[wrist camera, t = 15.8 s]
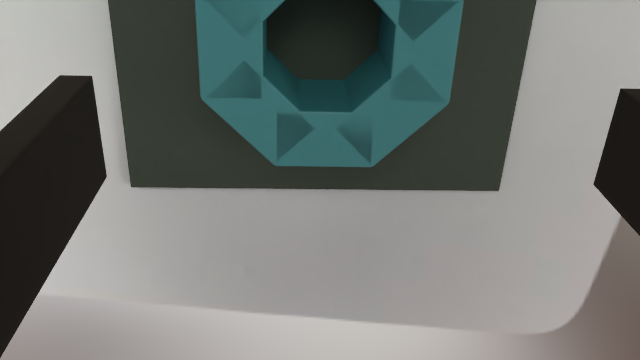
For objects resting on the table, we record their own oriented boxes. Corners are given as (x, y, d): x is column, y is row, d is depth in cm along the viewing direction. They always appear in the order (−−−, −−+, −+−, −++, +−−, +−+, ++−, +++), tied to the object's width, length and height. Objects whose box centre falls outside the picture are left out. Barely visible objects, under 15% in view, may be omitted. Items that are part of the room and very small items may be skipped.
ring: (449, -95, 24) (476, -86, 20) (421, 130, 28) (440, 168, 25) (203, -103, 23) (188, -97, 20) (214, 127, 28) (204, 166, 24)
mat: (568, -183, 23) (573, -184, 23) (496, 187, 31) (499, 191, 30) (85, -205, 22) (82, -206, 22) (132, 183, 30) (130, 187, 29)
